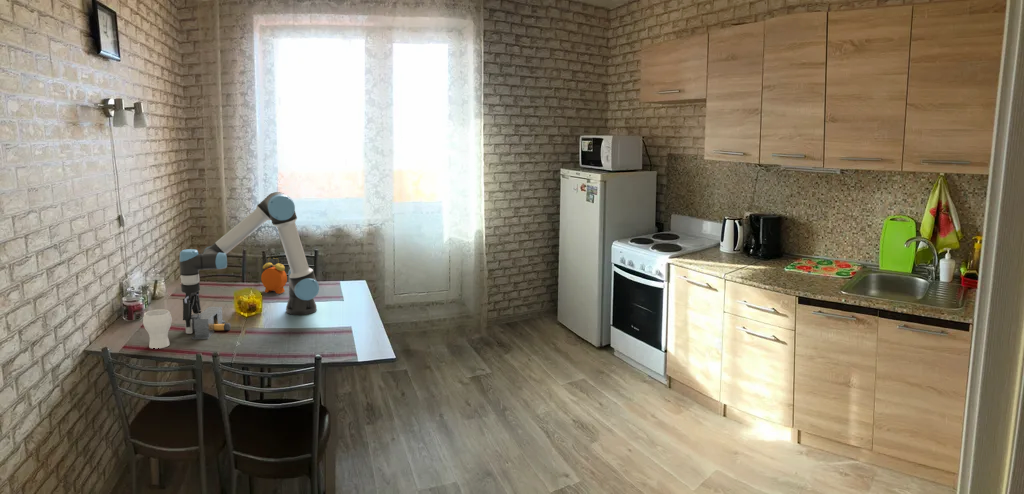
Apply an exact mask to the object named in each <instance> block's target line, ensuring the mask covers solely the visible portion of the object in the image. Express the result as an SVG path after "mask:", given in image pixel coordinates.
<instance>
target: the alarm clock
mask: <svg viewBox="0 0 1024 494" xmlns="http://www.w3.org/2000/svg"><path fill="white" fill-rule="evenodd" d="M274 259H277V263H276V264H273V263H272V262H269V261H270V258H268V262H265V264H263V266H262V270H263V271H262V273H261V276H260V278H261V279H260V281H261V283H262V285H263V287H264V288H265V289H264V293H269V292H272V291H273V292H275V293H276V294H279V295H280V294H282V293H285V292H286V290H285V286H286V284H287V282H288V275H287V272H286V271H285V269H286V268H285V265H284V264H282V263H279V262H280V261H279V260H278V258H277V257H276V258H274ZM271 266H272V267H271Z"/></svg>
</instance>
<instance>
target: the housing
mask: <svg viewBox="0 0 1024 494" xmlns="http://www.w3.org/2000/svg"><path fill="white" fill-rule="evenodd" d="M225 323H226V320H223V307H222V306H208V307H207V308H205V309H204V310H203V311H201V313H199V315H198V316H197V317H196V318H195V319H194V328H195V332H194V335H193V336H192V337H191V339H192V340H209V339H210V338H211V336H212V335H213V334H214V333H215V330H214V324H225Z"/></svg>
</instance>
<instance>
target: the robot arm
mask: <svg viewBox="0 0 1024 494" xmlns="http://www.w3.org/2000/svg"><path fill="white" fill-rule="evenodd" d="M297 219H298V217H297V213H296V205H295V202H294V200H293V199H292V198H291V197H290V196H289V195H286V194H285V193H284V192H280V191H279V192H278V191H274V192H272V193H270V194H268V195H267V196H266V197H265V198H264V199H262V201H260V202H259V203H258V204H257V205H256V208H255V209H254V210H253V211H251V213H249V214H248V215H246V217H245V218H243V219H241V221H240V222H239V223H237V224H236V225H235V226H234V227H232V228H231V229H230V230H228V231H227V232H226V233H225V234H224V235H223V236H221V237H220V238H219V239H218V240H216V241H215V242H214V243H213V244H211V245H210V246H207V247H205V249H204V250H203V252H202V253H199V251H198V249H193V248H192V249H191V248H188V249H182V250H180V252H179V270H180V276H179V278H180V283H181V284H180V286H181V287H180V288H181V292H182V293H184V294H185V296H184V298H182V321H185V322H184V323H185V334H194V332H193V327H192V319H191V315H200V314H201V313H202V309H201V303H200V301H201V300H200V291H201V286H200V271H206V270H223V269H226V268H227V267H228V258H227V257H228V256H227V254H229V252H231V251H232V250H233V249H234V248H236V247H237V246H238V245H239V244H240V243H242V242H243V241H244V240H245V239H247V238H248V237H249V236H250V235H251V234H253V233H254V232H255V231H257V229H259V228H260V227H261V226H262V225H264V224H265V223H266V222H267V221H271V224H272V225H273V226H274V227H276V229H277V231H278V235H279V238H280V242H281V245H282V247H283V251H284V253H285V256H286V261H287V263H288V266H289V269H288V275H287V277H288V300H287V303H286V307H285V311H286V313H287V314H289V315H294V316H304V315H309V314H313V313H316V312H317V304H316V301H315V299H314V298H316V297H317V295H318V293H319V291H320V285H319V282H318V281H317V279H316V275H315V272H314V269H313V268H311V267H310V266H309V264H308V260H307V257H306V253H305V250H304V247H303V244H302V240H301V238H300V234H299V231H298V227H297V225H296V221H297Z"/></svg>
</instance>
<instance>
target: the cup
mask: <svg viewBox="0 0 1024 494" xmlns="http://www.w3.org/2000/svg"><path fill="white" fill-rule="evenodd" d="M172 317H173V316H172V315H171V311H170V310H168V309H163V308H162V309H161V308H159V309H151V310H148V311H145V312H144V314H143V318H142V322H143V323H142V324H143V328H144V329H145V330H146V332H147V333H148V336H149V343H148V345H149V346H148V347H149V349H153V348H155V349H154V350H157V349H158V348H159V349H165V348H168V346H170V339H169V330H170V329H171V325H172ZM159 349H158V350H159Z"/></svg>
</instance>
